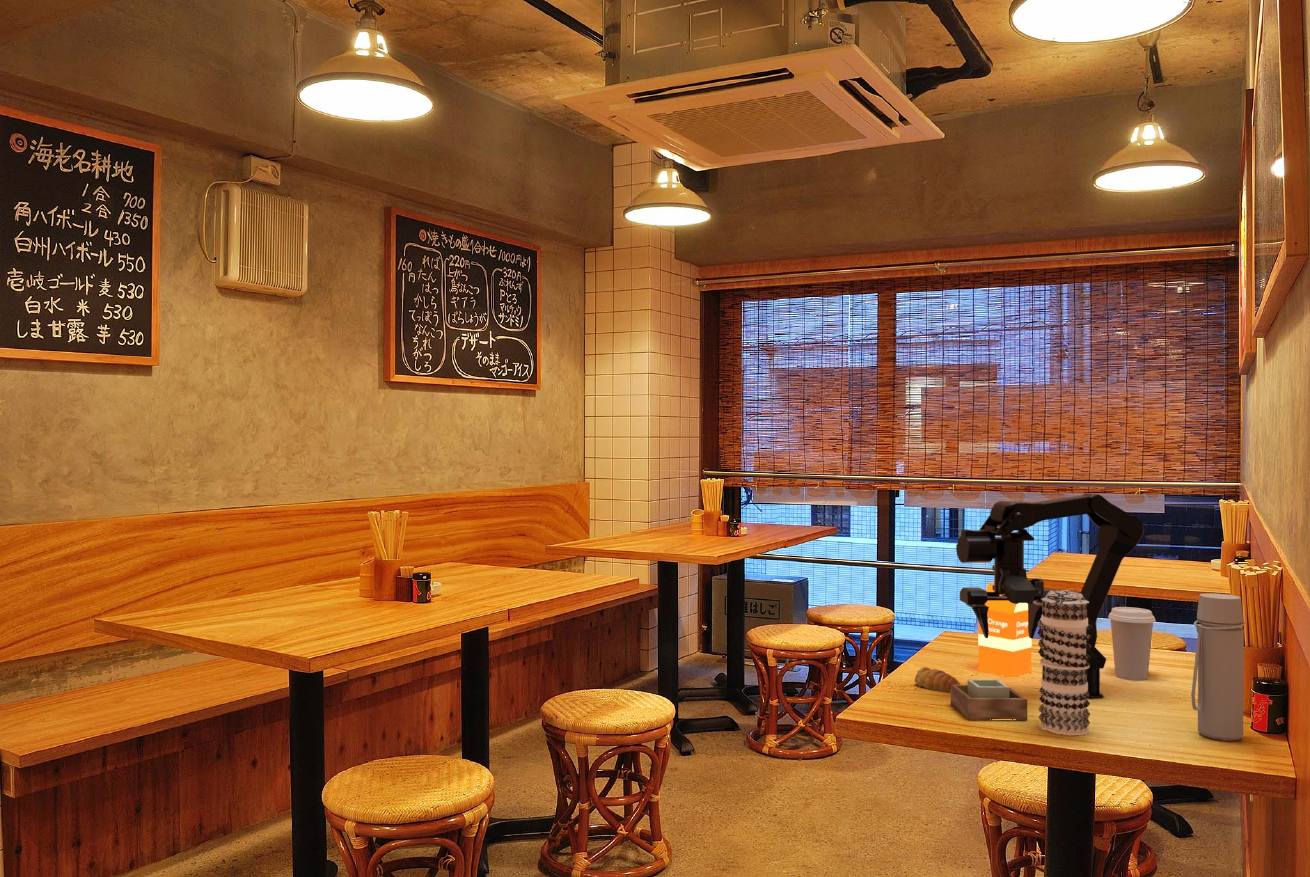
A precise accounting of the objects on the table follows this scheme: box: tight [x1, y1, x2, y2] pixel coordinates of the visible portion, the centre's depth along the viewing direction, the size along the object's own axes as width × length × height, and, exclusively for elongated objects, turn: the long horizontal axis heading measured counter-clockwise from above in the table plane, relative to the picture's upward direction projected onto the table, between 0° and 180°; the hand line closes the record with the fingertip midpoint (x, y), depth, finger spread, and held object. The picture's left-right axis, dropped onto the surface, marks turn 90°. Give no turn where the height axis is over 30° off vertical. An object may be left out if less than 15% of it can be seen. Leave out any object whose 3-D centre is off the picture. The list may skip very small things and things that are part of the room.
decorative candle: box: [1037, 589, 1093, 736], centre depth 177 cm, size 9×9×25 cm
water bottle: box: [1190, 592, 1246, 742], centre depth 173 cm, size 9×8×25 cm
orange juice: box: [977, 582, 1033, 678], centre depth 221 cm, size 8×9×20 cm
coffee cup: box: [1107, 606, 1157, 681], centre depth 217 cm, size 10×10×15 cm
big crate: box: [950, 684, 1028, 721], centre depth 188 cm, size 11×11×4 cm
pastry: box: [914, 667, 961, 693], centre depth 207 cm, size 9×7×4 cm
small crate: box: [967, 679, 1010, 698], centre depth 188 cm, size 6×6×5 cm
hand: (1008, 638), depth 200 cm, fingers open, 9 cm apart
